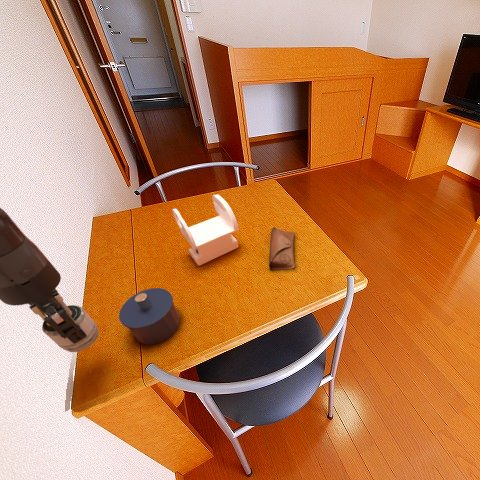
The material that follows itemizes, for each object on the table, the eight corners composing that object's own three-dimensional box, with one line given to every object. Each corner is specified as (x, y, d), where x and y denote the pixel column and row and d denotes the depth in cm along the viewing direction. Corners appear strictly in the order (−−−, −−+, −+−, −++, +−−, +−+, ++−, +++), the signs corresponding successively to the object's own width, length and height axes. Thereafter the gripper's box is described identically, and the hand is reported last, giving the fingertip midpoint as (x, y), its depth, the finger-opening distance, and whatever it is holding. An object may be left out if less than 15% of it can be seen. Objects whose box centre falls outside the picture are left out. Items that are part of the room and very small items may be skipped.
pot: (161, 349, 65) (150, 332, 60) (125, 338, 67) (111, 320, 62) (188, 314, 72) (180, 296, 68) (155, 304, 74) (145, 286, 69)
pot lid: (151, 336, 60) (143, 324, 57) (109, 323, 62) (99, 311, 59) (183, 296, 68) (178, 284, 65) (145, 286, 70) (138, 274, 67)
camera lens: (60, 359, 52) (34, 336, 47) (66, 332, 57) (43, 309, 52) (99, 346, 54) (78, 323, 49) (102, 321, 59) (83, 298, 54)
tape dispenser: (201, 271, 84) (185, 224, 72) (185, 249, 91) (167, 203, 80) (243, 251, 92) (234, 205, 80) (224, 232, 99) (214, 188, 87)
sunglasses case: (296, 267, 86) (285, 254, 82) (278, 276, 88) (265, 264, 84) (295, 231, 99) (284, 219, 95) (278, 240, 101) (268, 228, 97)
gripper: (-30, 261, 43) (36, 322, 54) (-6, 308, 37) (64, 367, 48) (30, 237, 48) (80, 298, 59) (61, 276, 42) (111, 336, 52)
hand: (73, 328), depth 53 cm, fingers closed on camera lens, 6 cm apart
